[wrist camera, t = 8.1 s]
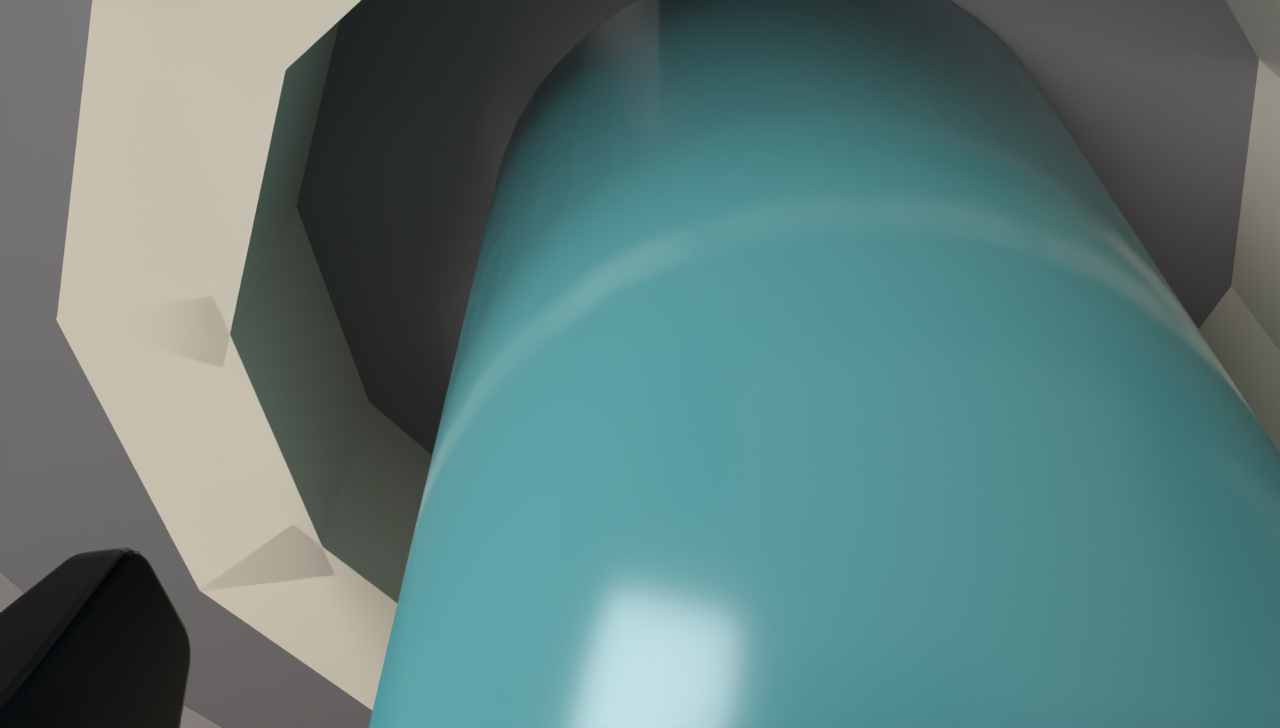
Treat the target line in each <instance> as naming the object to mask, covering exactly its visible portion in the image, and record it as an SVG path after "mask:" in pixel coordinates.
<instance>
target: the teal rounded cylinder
mask: <svg viewBox="0 0 1280 728" xmlns="http://www.w3.org/2000/svg"><path fill="white" fill-rule="evenodd" d="M369 728H1280V453H1279V451H1278V449H1277V448H1276V446H1275V445H1274V443H1273V442H1272V440H1271V439H1270V437H1269V436H1268V434H1267V433H1266V431H1265V430H1264V428H1263V427H1262V425H1261V424H1260V422H1259V421H1258V419H1257V418H1256V416H1255V415H1254V413H1253V412H1252V410H1251V409H1250V407H1249V405H1248V404H1247V402H1246V401H1245V399H1244V398H1243V396H1242V395H1241V393H1240V392H1239V390H1238V389H1237V387H1236V386H1235V384H1234V383H1233V381H1232V380H1231V378H1230V377H1229V375H1228V374H1227V372H1226V371H1225V369H1224V368H1223V366H1222V365H1221V363H1220V361H1219V360H1218V358H1217V357H1216V355H1215V354H1214V352H1213V351H1212V349H1211V348H1210V346H1209V345H1208V343H1207V342H1206V340H1205V339H1204V337H1203V336H1202V334H1201V333H1200V331H1199V330H1198V328H1197V327H1196V325H1195V324H1194V322H1193V320H1192V319H1191V317H1190V316H1189V314H1188V313H1187V311H1186V310H1185V308H1184V307H1183V305H1182V304H1181V302H1180V301H1179V299H1178V298H1177V296H1176V295H1175V293H1174V292H1173V290H1172V289H1171V287H1170V286H1169V284H1168V283H1167V281H1166V280H1165V278H1164V276H1163V275H1162V273H1161V272H1160V270H1159V269H1158V267H1157V266H1156V264H1155V263H1154V261H1153V260H1152V258H1151V257H1150V255H1149V254H1148V252H1147V251H1146V249H1145V248H1144V246H1143V245H1142V243H1141V242H1140V240H1139V239H1138V237H1137V236H1136V234H1135V232H1134V231H1133V229H1132V228H1131V226H1130V225H1129V223H1128V222H1127V220H1126V219H1125V217H1124V216H1123V214H1122V213H1121V211H1120V210H1119V208H1118V207H1117V205H1116V204H1115V202H1114V201H1113V199H1112V198H1111V196H1110V195H1109V193H1108V191H1107V190H1106V188H1105V187H1104V185H1103V184H1102V182H1101V181H1100V179H1099V178H1098V176H1097V175H1096V173H1095V172H1094V170H1093V169H1092V167H1091V166H1090V164H1089V163H1088V161H1087V160H1086V158H1085V157H1084V155H1083V154H1082V152H1081V151H1080V149H1079V147H1078V146H1077V144H1076V143H1075V141H1074V140H1073V138H1072V137H1071V135H1070V134H1069V132H1068V131H1067V129H1066V128H1065V126H1064V125H1063V123H1062V122H1061V120H1060V119H1059V117H1058V116H1057V114H1056V113H1055V111H1054V110H1053V108H1052V107H1051V105H1050V103H1049V102H1048V100H1047V99H1046V97H1045V96H1044V94H1043V93H1042V91H1041V90H1040V88H1039V87H1038V85H1037V84H1036V82H1035V81H1034V79H1033V78H1032V76H1031V75H1030V73H1029V72H1028V71H1027V69H1026V68H1025V67H1024V66H1023V64H1022V63H1021V62H1020V61H1019V59H1018V58H1017V57H1016V56H1015V54H1014V53H1013V52H1012V51H1011V50H1010V48H1009V47H1008V46H1007V45H1006V44H1005V43H1004V42H1003V41H1002V40H1001V39H1000V38H999V37H998V36H997V35H995V34H994V33H993V32H992V31H991V30H990V29H989V28H988V27H987V26H986V25H984V24H983V23H982V22H981V21H980V20H979V19H978V18H976V17H975V16H973V15H972V14H970V13H969V12H967V11H966V10H964V9H963V8H961V7H960V6H958V5H957V4H955V3H954V2H952V1H951V0H638V1H636V2H634V3H632V4H631V5H629V6H627V7H625V8H623V9H621V10H620V11H619V12H617V13H616V14H614V15H613V16H612V17H610V18H609V19H608V20H606V21H605V22H603V23H602V24H601V25H599V26H598V27H596V28H595V29H594V30H592V31H591V32H589V33H588V34H587V35H586V36H585V37H584V38H583V39H582V40H581V41H580V42H579V43H578V44H577V45H575V46H574V47H573V48H572V49H571V50H570V51H569V52H568V53H567V54H566V55H565V56H564V57H563V58H562V59H561V60H560V61H559V62H558V63H557V64H556V66H555V67H554V68H553V69H552V71H551V72H550V73H549V74H548V76H547V77H546V78H545V79H544V81H543V82H542V83H541V84H540V86H539V87H538V88H537V89H536V91H535V92H534V94H533V96H532V97H531V99H530V101H529V102H528V104H527V106H526V107H525V109H524V111H523V112H522V114H521V116H520V117H519V119H518V121H517V122H516V125H515V127H514V130H513V132H512V134H511V137H510V139H509V142H508V144H507V147H506V149H505V151H504V154H503V156H502V160H501V164H500V168H499V172H498V176H497V180H496V184H495V188H494V193H493V197H492V201H491V206H490V210H489V214H488V218H487V223H486V227H485V231H484V236H483V240H482V244H481V248H480V253H479V257H478V261H477V266H476V270H475V274H474V278H473V283H472V287H471V291H470V296H469V300H468V304H467V308H466V313H465V317H464V321H463V325H462V330H461V334H460V338H459V343H458V347H457V351H456V355H455V360H454V364H453V368H452V373H451V377H450V381H449V385H448V390H447V394H446V398H445V403H444V407H443V411H442V415H441V420H440V424H439V428H438V433H437V437H436V441H435V445H434V450H433V454H432V458H431V463H430V467H429V471H428V475H427V480H426V484H425V488H424V493H423V497H422V501H421V505H420V510H419V514H418V518H417V523H416V527H415V531H414V535H413V540H412V544H411V548H410V553H409V557H408V561H407V565H406V570H405V574H404V578H403V583H402V587H401V591H400V595H399V600H398V604H397V608H396V613H395V617H394V621H393V625H392V630H391V634H390V638H389V643H388V647H387V651H386V655H385V660H384V664H383V668H382V673H381V677H380V681H379V685H378V690H377V694H376V698H375V703H374V707H373V711H372V715H371V720H370V724H369Z"/></svg>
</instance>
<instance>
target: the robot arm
mask: <svg viewBox="0 0 1280 728" xmlns="http://www.w3.org/2000/svg"><path fill="white" fill-rule="evenodd" d="M190 664H191V647H190V640H189V636H188V633H187V630H186V628H185V625H184V623H183V621H182V620H181V618H180V616H179V614H178V612H177V611H176V609H175V607H174V605H173V603H172V602H171V600H170V598H169V596H168V594H167V593H166V591H165V589H164V587H163V585H162V583H161V582H160V580H159V578H158V576H157V574H156V573H155V571H154V569H153V567H152V565H151V564H150V562H149V561H148V559H147V558H146V556H145V555H143V554H142V553H141V552H140V551H138V550H136V549H133V548H128V547H122V548H114V549H106V550H98V551H90V552H84V553H80V554H76V555H74V556H72V557H70V558H68V559H67V560H66V561H64V562H63V563H62V564H61V565H59V566H58V567H57V568H56V569H54V570H53V571H52V572H51V573H49V574H48V575H47V576H46V577H44V578H43V579H42V580H41V581H39V582H38V583H37V584H36V585H34V586H33V587H32V588H31V589H29V590H28V591H27V592H26V593H24V594H23V595H22V596H21V597H19V598H18V599H17V600H16V601H14V602H13V603H12V604H11V605H9V606H8V607H7V608H6V609H4V610H3V611H2V612H1V613H0V728H180V723H181V717H182V711H183V705H184V700H185V694H186V688H187V683H188V677H189V671H190Z"/></svg>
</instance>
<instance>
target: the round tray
mask: <svg viewBox="0 0 1280 728" xmlns="http://www.w3.org/2000/svg"><path fill="white" fill-rule="evenodd" d="M636 1H638V0H0V572H1V573H2V574H3V575H4V576H5V577H6V578H8V579H9V580H10V581H11V582H12V583H13V584H15V585H16V586H17V587H18V588H19V589H20V590H22V591H23V592H24V593H26V592H27V591H28V590H29V589H31V588H32V587H33V586H34V585H36V584H37V583H38V582H39V581H41V580H42V579H43V578H44V577H46V576H47V575H48V574H49V573H51V572H52V571H53V570H54V569H56V568H57V567H58V566H59V565H61V564H62V563H63V562H64V561H66V560H67V559H68V558H70V557H72V556H74V555H76V554H80V553H84V552H90V551H98V550H106V549H114V548H122V547H128V548H133V549H136V550H138V551H140V552H141V553H142V554H143V555H145V556H146V558H147V559H148V561H149V562H150V564H151V565H152V567H153V569H154V571H155V573H156V574H157V576H158V578H159V580H160V582H161V583H162V585H163V587H164V589H165V591H166V593H167V594H168V596H169V598H170V600H171V602H172V603H173V605H174V607H175V609H176V611H177V612H178V614H179V616H180V618H181V620H182V621H183V623H184V625H185V628H186V630H187V633H188V636H189V640H190V647H191V664H190V671H189V677H188V683H187V688H186V694H185V700H184V706H186V707H188V708H189V709H191V710H193V711H195V712H196V713H198V714H200V715H201V716H203V717H205V718H207V719H208V720H210V721H212V722H214V723H215V724H217V725H219V726H221V727H222V728H369V724H370V720H371V715H372V711H373V707H374V703H375V698H376V694H377V690H378V685H379V681H380V677H381V673H382V668H383V664H384V660H385V655H386V651H387V647H388V643H389V638H390V634H391V630H392V625H393V621H394V617H395V613H396V608H397V604H398V600H399V595H400V591H401V587H402V583H403V578H404V574H405V570H406V565H407V561H408V557H409V553H410V548H411V544H412V540H413V535H414V531H415V527H416V523H417V518H418V514H419V510H420V505H421V501H422V497H423V493H424V488H425V484H426V480H427V475H428V471H429V467H430V463H431V458H432V454H433V450H434V445H435V441H436V437H437V433H438V428H439V424H440V420H441V415H442V411H443V407H444V403H445V398H446V394H447V390H448V385H449V381H450V377H451V373H452V368H453V364H454V360H455V355H456V351H457V347H458V343H459V338H460V334H461V330H462V325H463V321H464V317H465V313H466V308H467V304H468V300H469V296H470V291H471V287H472V283H473V278H474V274H475V270H476V266H477V261H478V257H479V253H480V248H481V244H482V240H483V236H484V231H485V227H486V223H487V218H488V214H489V210H490V206H491V201H492V197H493V193H494V188H495V184H496V180H497V176H498V172H499V168H500V164H501V160H502V156H503V154H504V151H505V149H506V147H507V144H508V142H509V139H510V137H511V134H512V132H513V130H514V127H515V125H516V122H517V121H518V119H519V117H520V116H521V114H522V112H523V111H524V109H525V107H526V106H527V104H528V102H529V101H530V99H531V97H532V96H533V94H534V92H535V91H536V89H537V88H538V87H539V86H540V84H541V83H542V82H543V81H544V79H545V78H546V77H547V76H548V74H549V73H550V72H551V71H552V69H553V68H554V67H555V66H556V64H557V63H558V62H559V61H560V60H561V59H562V58H563V57H564V56H565V55H566V54H567V53H568V52H569V51H570V50H571V49H572V48H573V47H574V46H575V45H577V44H578V43H579V42H580V41H581V40H582V39H583V38H584V37H585V36H586V35H587V34H588V33H589V32H591V31H592V30H594V29H595V28H596V27H598V26H599V25H601V24H602V23H603V22H605V21H606V20H608V19H609V18H610V17H612V16H613V15H614V14H616V13H617V12H619V11H620V10H621V9H623V8H625V7H627V6H629V5H631V4H632V3H634V2H636ZM951 1H952V2H954V3H955V4H957V5H958V6H960V7H961V8H963V9H964V10H966V11H967V12H969V13H970V14H972V15H973V16H975V17H976V18H978V19H979V20H980V21H981V22H982V23H983V24H984V25H986V26H987V27H988V28H989V29H990V30H991V31H992V32H993V33H994V34H995V35H997V36H998V37H999V38H1000V39H1001V40H1002V41H1003V42H1004V43H1005V44H1006V45H1007V46H1008V47H1009V48H1010V50H1011V51H1012V52H1013V53H1014V54H1015V56H1016V57H1017V58H1018V59H1019V61H1020V62H1021V63H1022V64H1023V66H1024V67H1025V68H1026V69H1027V71H1028V72H1029V73H1030V75H1031V76H1032V78H1033V79H1034V81H1035V82H1036V84H1037V85H1038V87H1039V88H1040V90H1041V91H1042V93H1043V94H1044V96H1045V97H1046V99H1047V100H1048V102H1049V103H1050V105H1051V107H1052V108H1053V110H1054V111H1055V113H1056V114H1057V116H1058V117H1059V119H1060V120H1061V122H1062V123H1063V125H1064V126H1065V128H1066V129H1067V131H1068V132H1069V134H1070V135H1071V137H1072V138H1073V140H1074V141H1075V143H1076V144H1077V146H1078V147H1079V149H1080V151H1081V152H1082V154H1083V155H1084V157H1085V158H1086V160H1087V161H1088V163H1089V164H1090V166H1091V167H1092V169H1093V170H1094V172H1095V173H1096V175H1097V176H1098V178H1099V179H1100V181H1101V182H1102V184H1103V185H1104V187H1105V188H1106V190H1107V191H1108V193H1109V195H1110V196H1111V198H1112V199H1113V201H1114V202H1115V204H1116V205H1117V207H1118V208H1119V210H1120V211H1121V213H1122V214H1123V216H1124V217H1125V219H1126V220H1127V222H1128V223H1129V225H1130V226H1131V228H1132V229H1133V231H1134V232H1135V234H1136V236H1137V237H1138V239H1139V240H1140V242H1141V243H1142V245H1143V246H1144V248H1145V249H1146V251H1147V252H1148V254H1149V255H1150V257H1151V258H1152V260H1153V261H1154V263H1155V264H1156V266H1157V267H1158V269H1159V270H1160V272H1161V273H1162V275H1163V276H1164V278H1165V280H1166V281H1167V283H1168V284H1169V286H1170V287H1171V289H1172V290H1173V292H1174V293H1175V295H1176V296H1177V298H1178V299H1179V301H1180V302H1181V304H1182V305H1183V307H1184V308H1185V310H1186V311H1187V313H1188V314H1189V316H1190V317H1191V319H1192V320H1193V322H1194V324H1195V325H1196V327H1197V328H1198V330H1199V331H1200V333H1201V334H1202V336H1203V337H1204V339H1205V340H1206V342H1207V343H1208V345H1209V346H1210V348H1211V349H1212V351H1213V352H1214V354H1215V355H1216V357H1217V358H1218V360H1219V361H1220V363H1221V365H1222V366H1223V368H1224V369H1225V371H1226V372H1227V374H1228V375H1229V377H1230V378H1231V380H1232V381H1233V383H1234V384H1235V386H1236V387H1237V389H1238V390H1239V392H1240V393H1241V395H1242V396H1243V398H1244V399H1245V401H1246V402H1247V404H1248V405H1249V407H1250V409H1251V410H1252V412H1253V413H1254V415H1255V416H1256V418H1257V419H1258V421H1259V422H1260V424H1261V425H1262V427H1263V428H1264V430H1265V431H1266V433H1267V434H1268V436H1269V437H1270V439H1271V440H1272V442H1273V443H1274V445H1275V446H1276V448H1277V449H1278V451H1279V453H1280V0H951Z"/></svg>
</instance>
